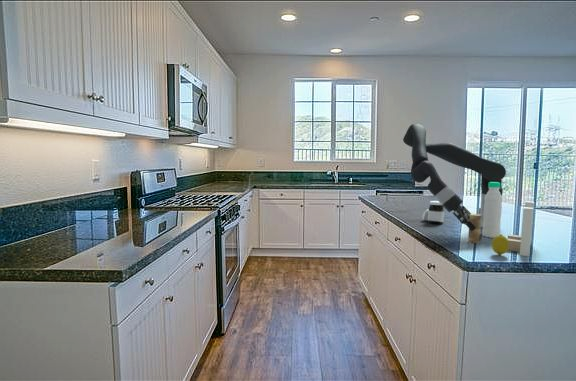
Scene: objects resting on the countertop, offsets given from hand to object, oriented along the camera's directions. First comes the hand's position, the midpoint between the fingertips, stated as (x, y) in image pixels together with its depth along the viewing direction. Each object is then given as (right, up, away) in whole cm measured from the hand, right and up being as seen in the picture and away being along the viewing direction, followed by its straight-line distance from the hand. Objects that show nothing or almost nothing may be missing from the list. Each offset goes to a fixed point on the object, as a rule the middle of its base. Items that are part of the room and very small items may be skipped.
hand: (475, 227), depth 152 cm
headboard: (+13, -7, -8) cm, 17 cm away
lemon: (0, -9, -18) cm, 20 cm away
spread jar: (-1, -2, +43) cm, 43 cm away
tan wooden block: (0, -6, +1) cm, 6 cm away
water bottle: (+13, -5, +11) cm, 18 cm away
